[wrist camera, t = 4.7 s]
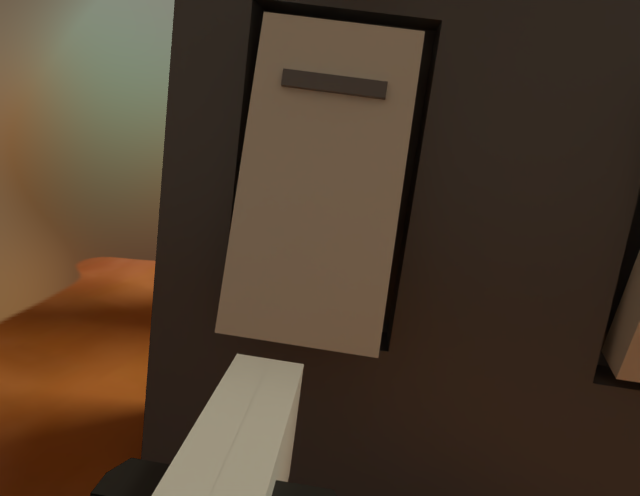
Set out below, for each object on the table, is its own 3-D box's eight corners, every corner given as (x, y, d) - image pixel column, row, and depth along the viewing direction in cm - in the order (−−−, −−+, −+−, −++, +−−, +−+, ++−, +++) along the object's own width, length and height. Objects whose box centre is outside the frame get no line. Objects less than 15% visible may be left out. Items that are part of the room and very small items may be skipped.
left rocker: (378, 358, 17) (425, 28, 18) (213, 333, 18) (262, 8, 18) (376, 351, 19) (419, 50, 20) (225, 327, 20) (270, 32, 20)
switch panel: (807, 603, 20) (1023, -12, 16) (133, 486, 22) (175, -105, 18) (620, 399, 36) (707, 57, 32) (233, 338, 37) (267, 4, 33)
